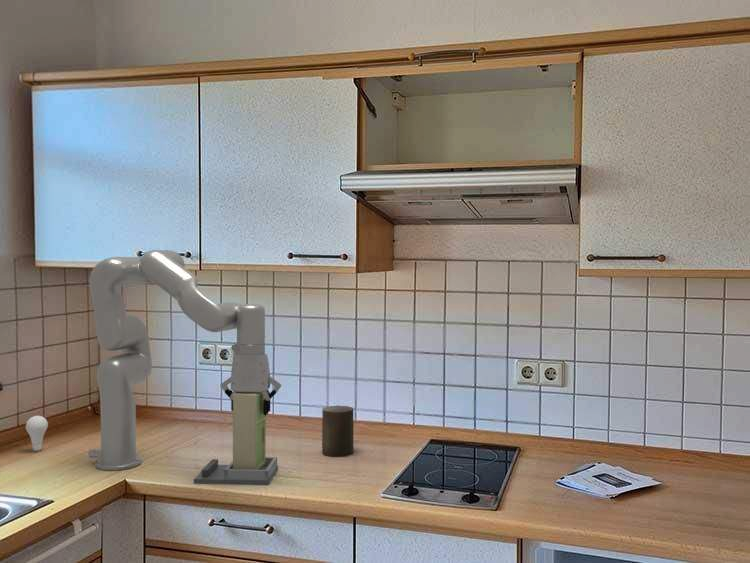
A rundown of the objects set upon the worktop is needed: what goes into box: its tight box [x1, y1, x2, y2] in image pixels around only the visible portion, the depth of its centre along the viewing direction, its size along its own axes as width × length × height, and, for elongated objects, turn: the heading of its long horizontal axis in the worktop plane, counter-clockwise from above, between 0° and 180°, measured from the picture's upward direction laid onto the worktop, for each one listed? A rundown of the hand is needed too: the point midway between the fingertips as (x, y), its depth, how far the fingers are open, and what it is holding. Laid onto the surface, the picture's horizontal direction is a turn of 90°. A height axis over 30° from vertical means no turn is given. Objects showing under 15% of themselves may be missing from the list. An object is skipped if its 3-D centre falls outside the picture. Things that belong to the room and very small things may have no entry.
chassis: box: [193, 456, 279, 486], centre depth 190 cm, size 20×13×4 cm, turn 87°
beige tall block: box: [232, 392, 267, 470], centre depth 190 cm, size 8×7×21 cm
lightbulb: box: [25, 415, 49, 452], centre depth 215 cm, size 6×6×11 cm
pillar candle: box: [321, 404, 355, 458], centre depth 214 cm, size 10×10×15 cm
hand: (250, 413), depth 190 cm, fingers closed on beige tall block, 7 cm apart
